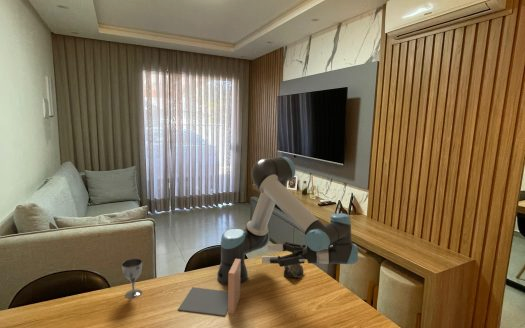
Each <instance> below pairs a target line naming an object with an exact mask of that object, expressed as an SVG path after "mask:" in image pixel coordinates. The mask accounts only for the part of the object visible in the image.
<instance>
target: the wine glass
mask: <svg viewBox="0 0 525 328" xmlns="http://www.w3.org/2000/svg"><path fill="white" fill-rule="evenodd" d="M121 269H122V273H123V276H124V278H125V279H127V280H129V282H130V283H131V288H132V289H131V290H129V291H128V290H127V292H125V294H124V297H125V298H126V299H129V300H132V299H136V298H138V297H140V296H141V295H142V294H143V290H141V289H139V288H135V282H136V280H137V279H138V278H139V277H140V276H141V273H142V270H143V261H142V259H141V258H129V259H126V260H124V261H123V262H122V264H121Z"/></svg>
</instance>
